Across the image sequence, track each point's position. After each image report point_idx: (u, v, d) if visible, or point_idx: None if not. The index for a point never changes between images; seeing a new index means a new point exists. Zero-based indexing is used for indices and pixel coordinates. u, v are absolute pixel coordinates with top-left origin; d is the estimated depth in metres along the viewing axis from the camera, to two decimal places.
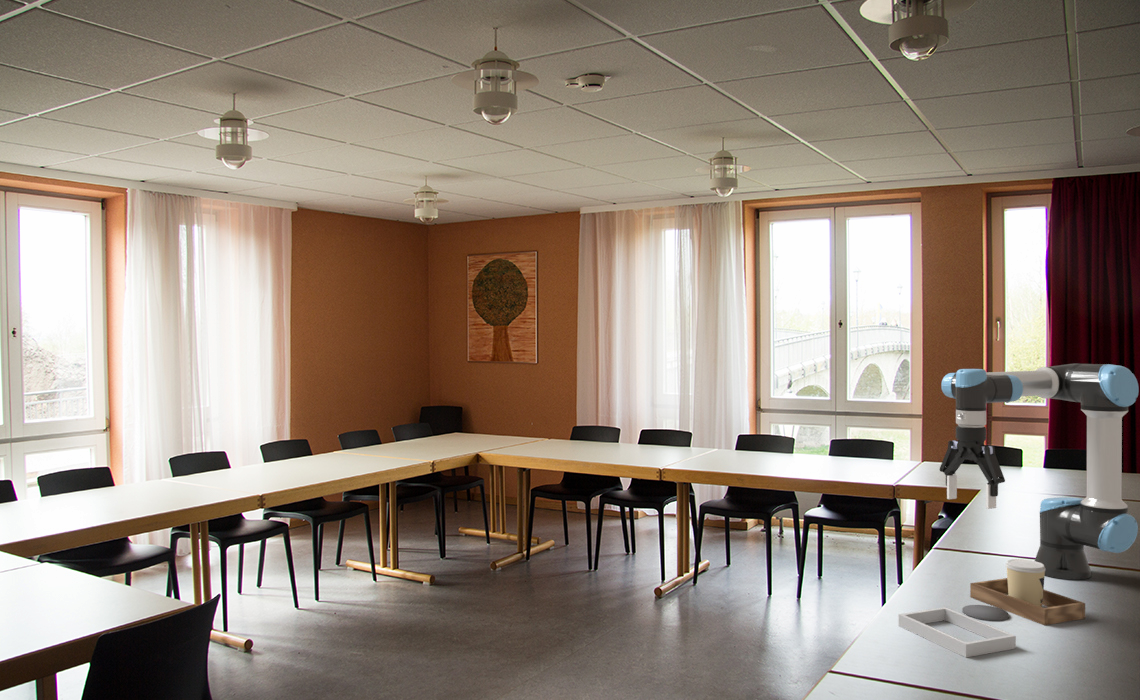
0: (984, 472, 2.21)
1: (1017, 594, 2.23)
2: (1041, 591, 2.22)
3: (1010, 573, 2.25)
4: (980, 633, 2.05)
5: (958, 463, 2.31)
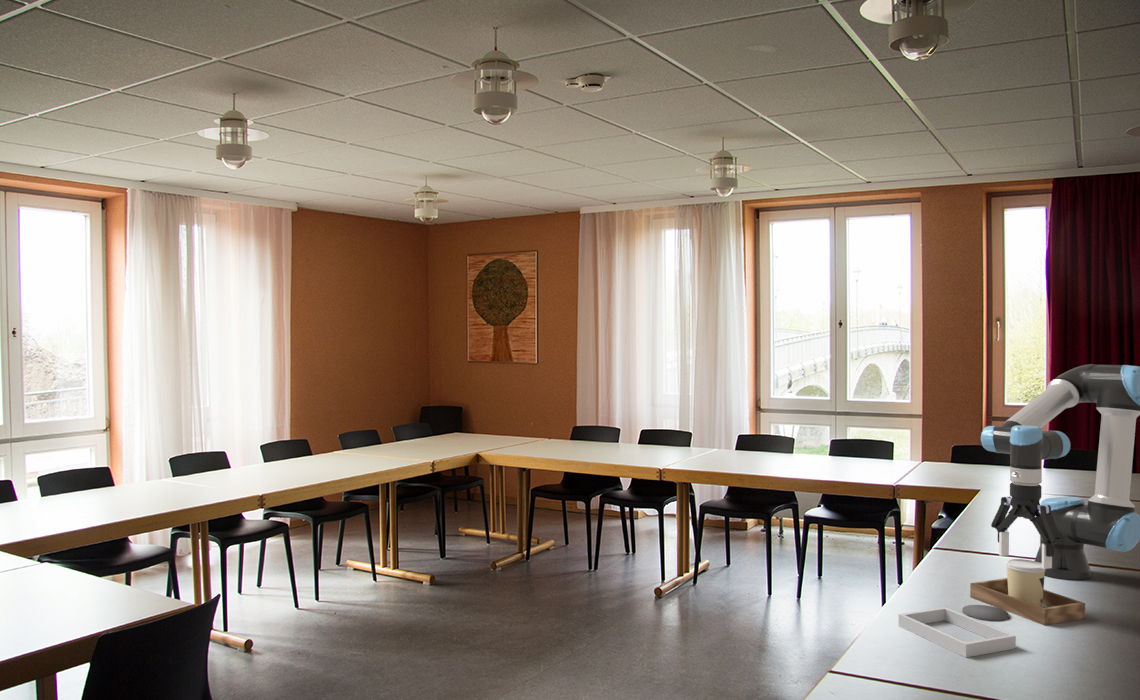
0: (1040, 531, 2.19)
1: (1017, 594, 2.23)
2: (1041, 591, 2.22)
3: (1010, 573, 2.25)
4: (980, 633, 2.05)
5: (1011, 520, 2.29)
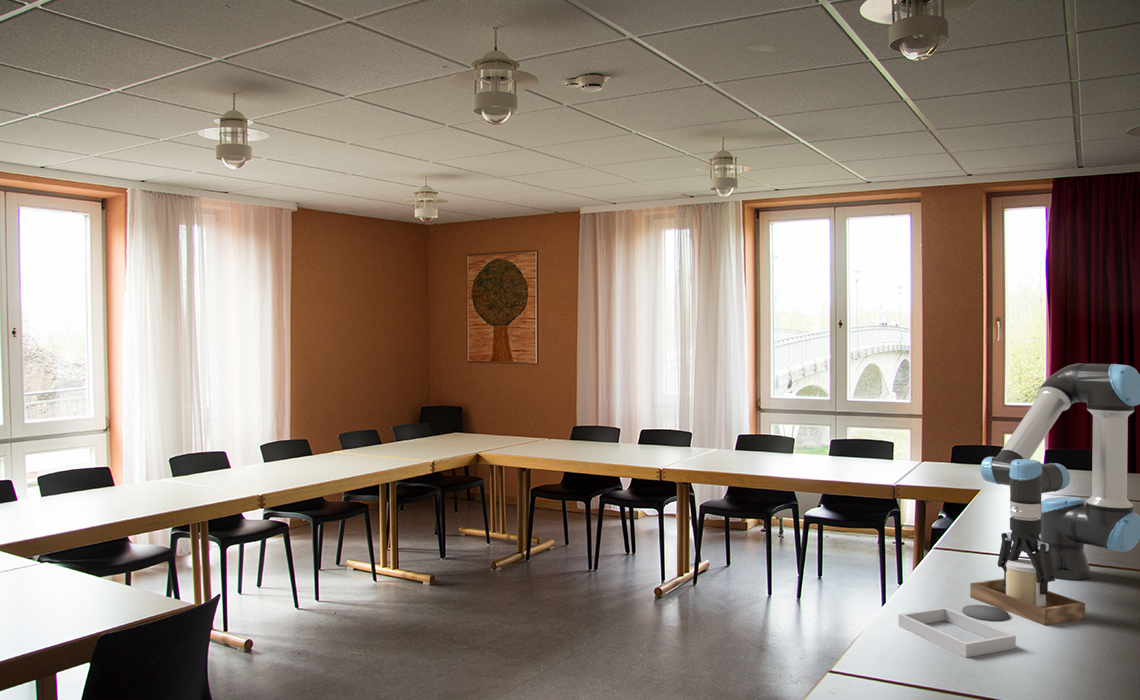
0: (1035, 568, 2.21)
1: (1017, 594, 2.23)
2: None
3: (1010, 573, 2.25)
4: (980, 633, 2.05)
5: (1015, 557, 2.28)
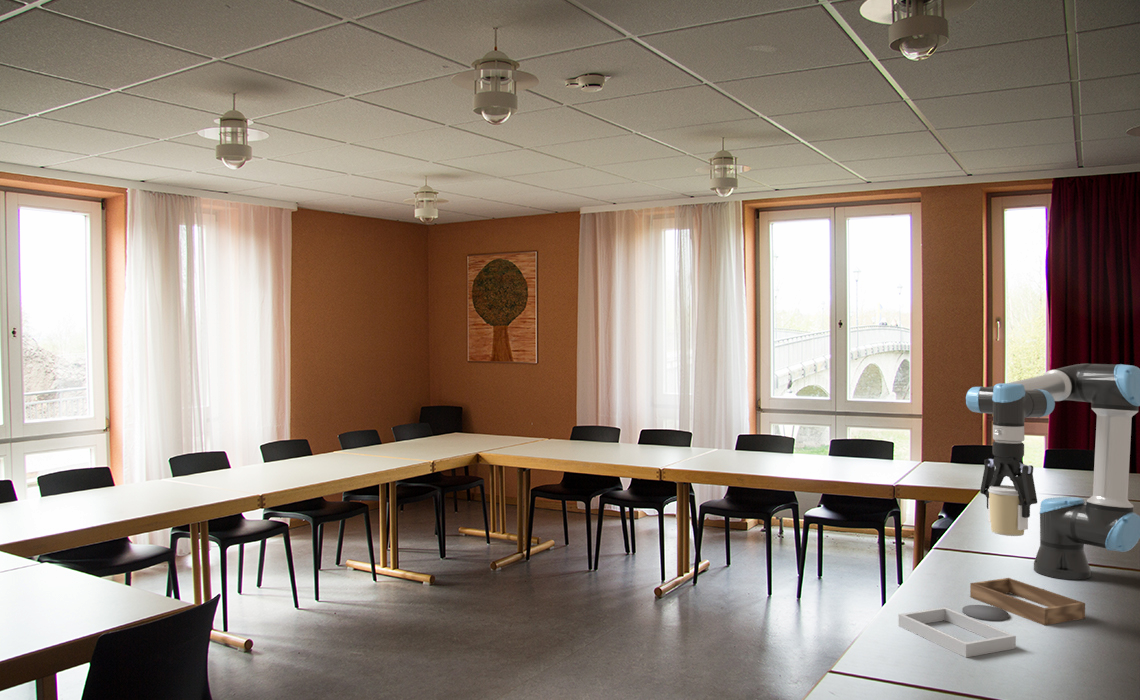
0: (1018, 492, 2.18)
1: (999, 518, 2.20)
2: None
3: (992, 497, 2.22)
4: (980, 633, 2.05)
5: (997, 483, 2.26)
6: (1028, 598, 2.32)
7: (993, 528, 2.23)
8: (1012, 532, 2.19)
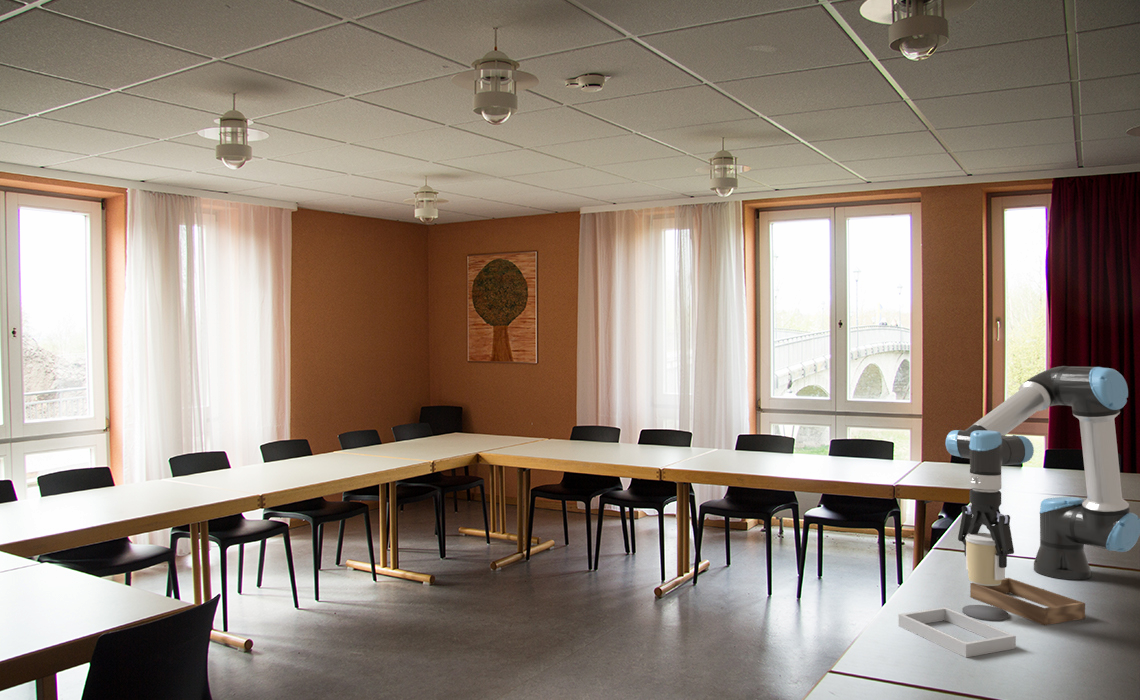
0: None
1: (976, 568, 2.18)
2: None
3: (969, 546, 2.20)
4: (980, 633, 2.05)
5: (975, 531, 2.23)
6: (1028, 598, 2.32)
7: (970, 577, 2.20)
8: (989, 582, 2.17)
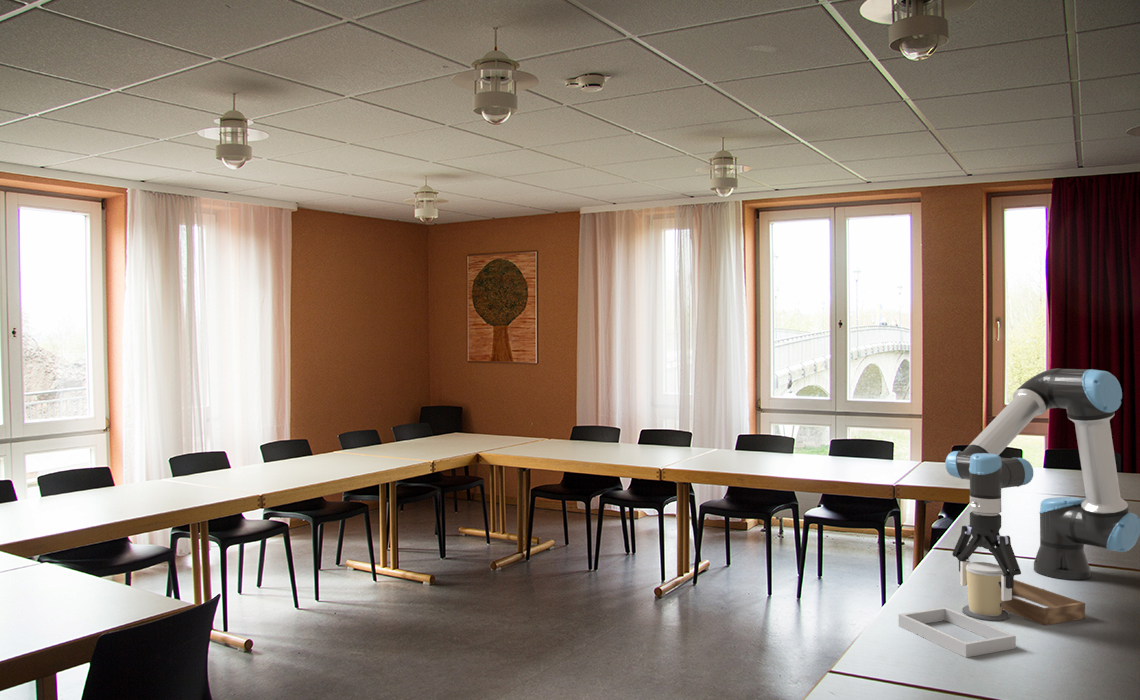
0: (999, 563, 2.15)
1: (977, 598, 2.18)
2: (1000, 595, 2.17)
3: (970, 576, 2.20)
4: (980, 633, 2.05)
5: (971, 550, 2.25)
6: (1028, 598, 2.32)
7: (970, 607, 2.21)
8: (989, 612, 2.17)
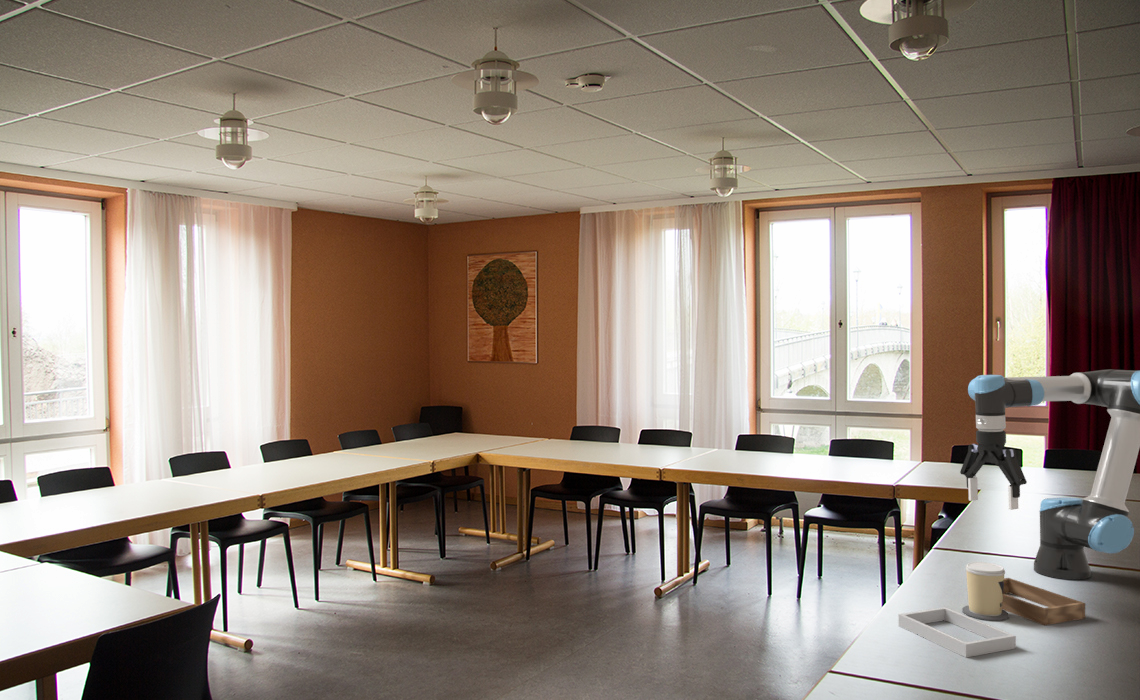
0: (1006, 474, 2.30)
1: (977, 598, 2.18)
2: (1000, 595, 2.17)
3: (970, 576, 2.20)
4: (980, 633, 2.05)
5: (978, 466, 2.39)
6: (1028, 598, 2.32)
7: (970, 607, 2.21)
8: (989, 612, 2.17)
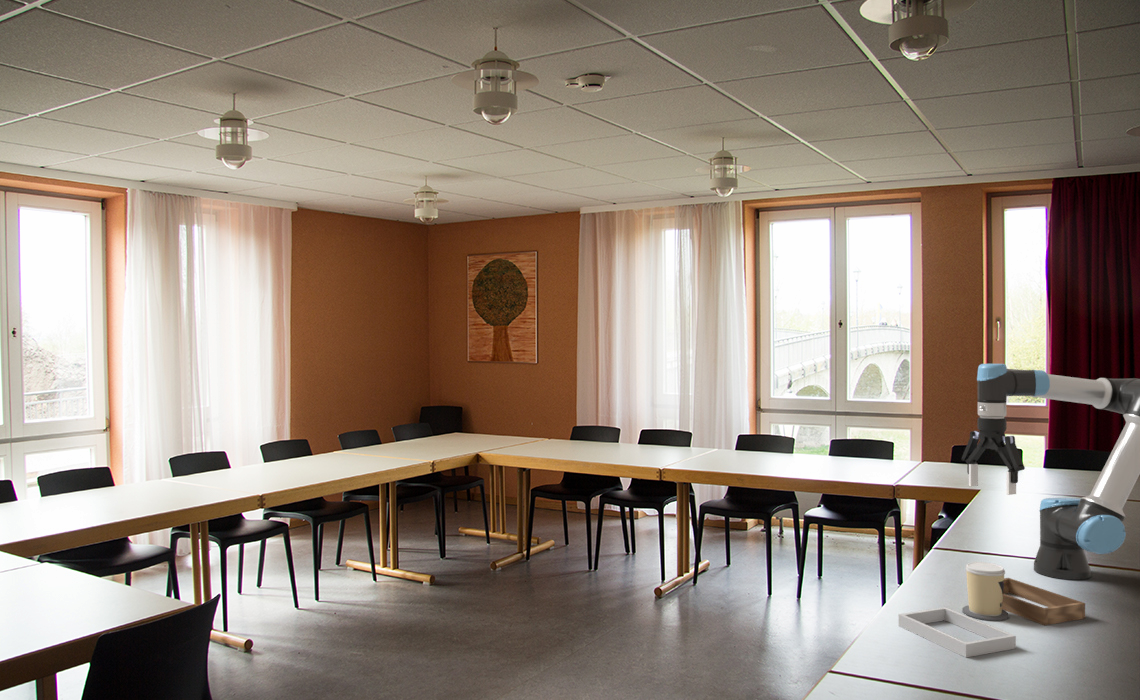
0: (1005, 460, 2.36)
1: (977, 598, 2.18)
2: (1000, 595, 2.17)
3: (969, 576, 2.20)
4: (980, 633, 2.05)
5: (979, 453, 2.46)
6: (1028, 598, 2.32)
7: (970, 607, 2.21)
8: (989, 612, 2.17)
